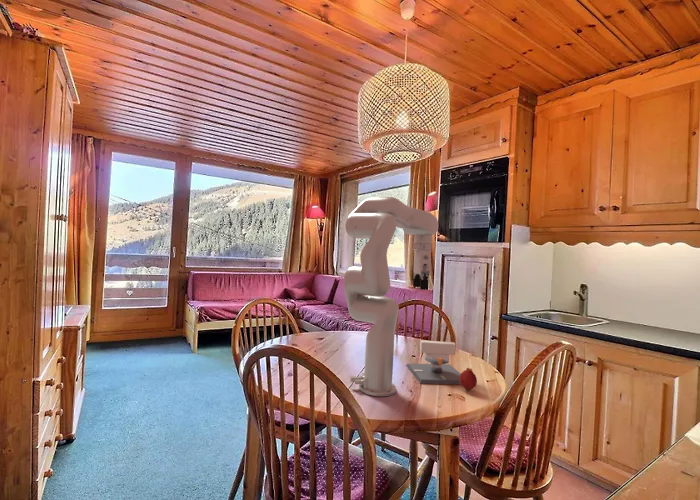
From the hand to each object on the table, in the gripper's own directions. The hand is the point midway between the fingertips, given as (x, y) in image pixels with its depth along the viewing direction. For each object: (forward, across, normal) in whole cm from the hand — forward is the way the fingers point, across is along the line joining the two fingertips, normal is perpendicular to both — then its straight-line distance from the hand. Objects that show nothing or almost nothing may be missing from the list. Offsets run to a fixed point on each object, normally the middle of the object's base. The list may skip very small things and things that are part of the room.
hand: (420, 288), depth 152 cm
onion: (+32, -28, -10) cm, 44 cm away
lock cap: (+26, -14, -4) cm, 30 cm away
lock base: (+32, -13, -4) cm, 35 cm away
